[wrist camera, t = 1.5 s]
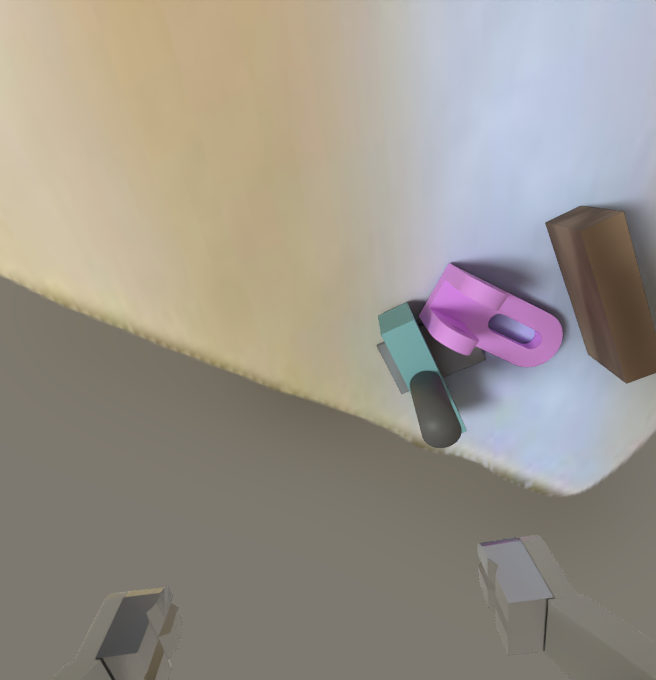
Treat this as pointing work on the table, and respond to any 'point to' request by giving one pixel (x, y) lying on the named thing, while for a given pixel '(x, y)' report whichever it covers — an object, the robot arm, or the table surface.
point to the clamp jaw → (421, 377)
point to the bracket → (487, 319)
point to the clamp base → (585, 298)
